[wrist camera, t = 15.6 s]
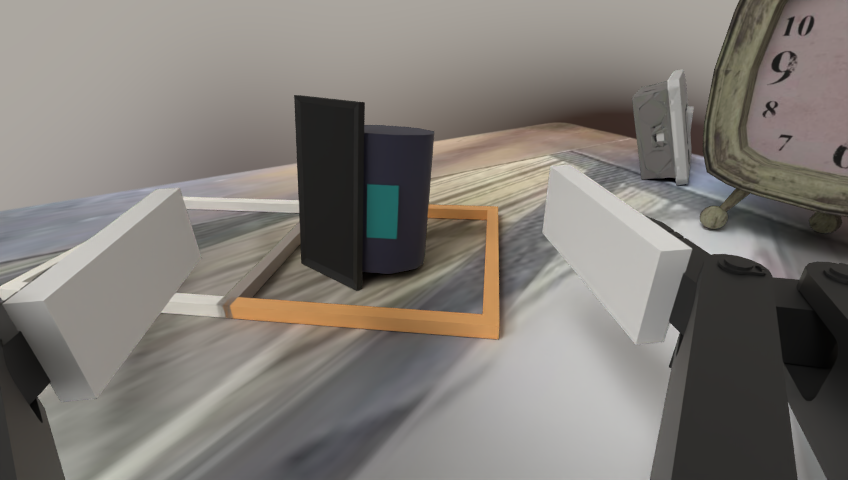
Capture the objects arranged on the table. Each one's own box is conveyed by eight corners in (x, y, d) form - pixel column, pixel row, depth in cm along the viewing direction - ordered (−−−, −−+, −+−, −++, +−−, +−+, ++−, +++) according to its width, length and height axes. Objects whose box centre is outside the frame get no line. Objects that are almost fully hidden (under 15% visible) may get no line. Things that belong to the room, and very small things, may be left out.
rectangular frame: (2, 300, 24) (-5, 288, 24) (174, 204, 37) (171, 196, 36) (498, 339, 20) (499, 326, 19) (497, 216, 33) (498, 206, 32)
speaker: (329, 303, 22) (317, 102, 19) (300, 263, 27) (286, 94, 23) (446, 275, 26) (456, 101, 22) (403, 244, 31) (405, 95, 27)
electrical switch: (687, 189, 37) (704, 77, 33) (623, 185, 39) (632, 82, 36) (690, 162, 44) (704, 67, 40) (636, 160, 46) (644, 72, 43)
